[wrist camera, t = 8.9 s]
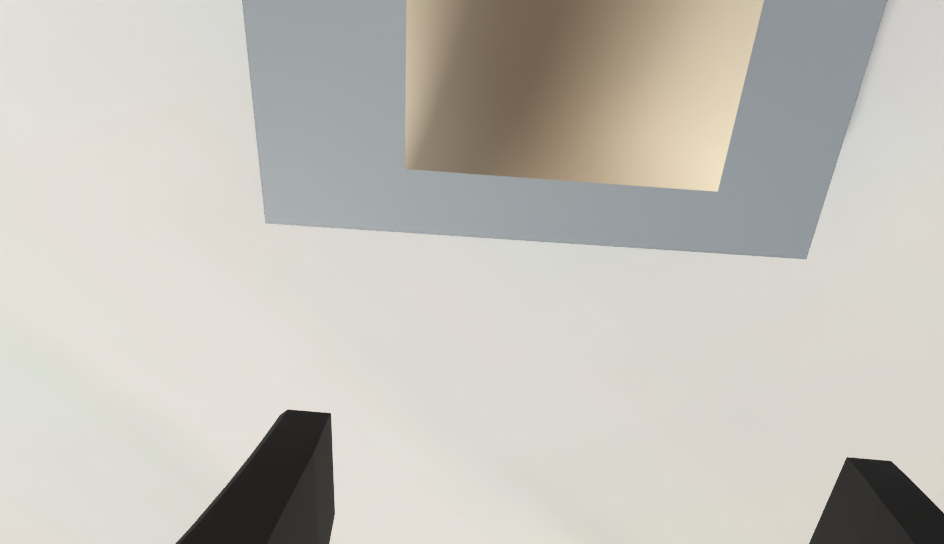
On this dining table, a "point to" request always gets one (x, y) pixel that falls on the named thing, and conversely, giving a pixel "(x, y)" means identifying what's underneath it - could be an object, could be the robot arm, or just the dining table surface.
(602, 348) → the dining table surface
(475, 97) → the ash block
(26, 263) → the dining table surface
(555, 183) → the slate plinth
